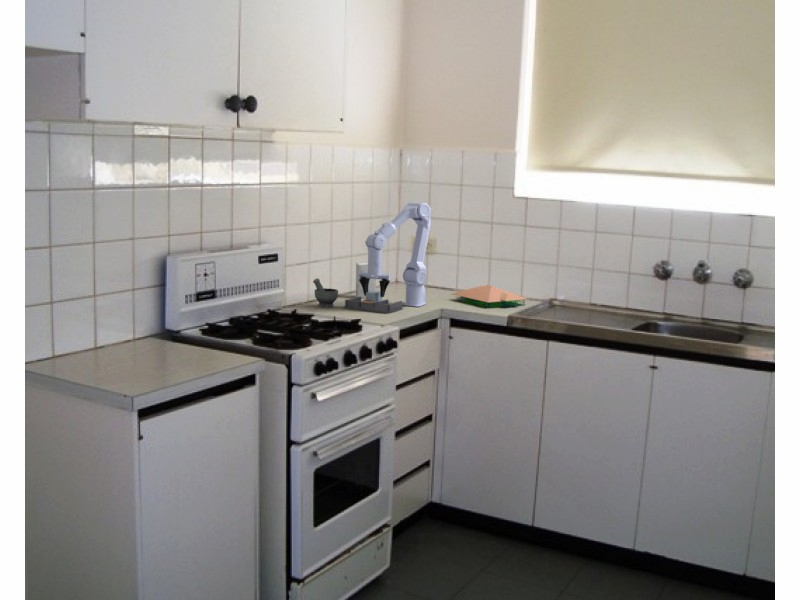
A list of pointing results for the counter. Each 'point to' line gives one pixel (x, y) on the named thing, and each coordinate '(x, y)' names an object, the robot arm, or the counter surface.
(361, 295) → the skincare box
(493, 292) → the house
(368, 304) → the rack
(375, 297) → the rectangular block
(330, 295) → the mortar and pestle
